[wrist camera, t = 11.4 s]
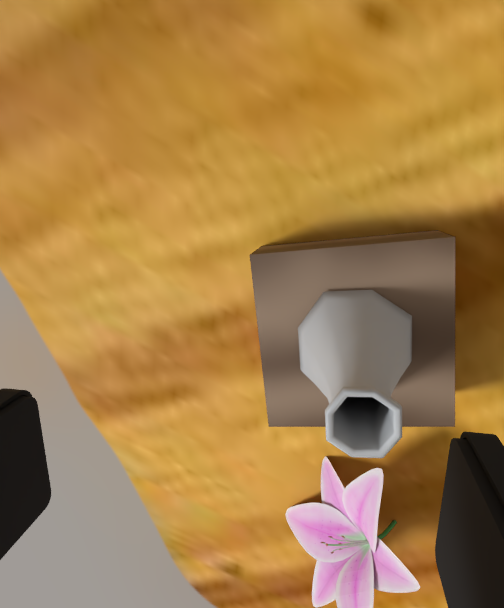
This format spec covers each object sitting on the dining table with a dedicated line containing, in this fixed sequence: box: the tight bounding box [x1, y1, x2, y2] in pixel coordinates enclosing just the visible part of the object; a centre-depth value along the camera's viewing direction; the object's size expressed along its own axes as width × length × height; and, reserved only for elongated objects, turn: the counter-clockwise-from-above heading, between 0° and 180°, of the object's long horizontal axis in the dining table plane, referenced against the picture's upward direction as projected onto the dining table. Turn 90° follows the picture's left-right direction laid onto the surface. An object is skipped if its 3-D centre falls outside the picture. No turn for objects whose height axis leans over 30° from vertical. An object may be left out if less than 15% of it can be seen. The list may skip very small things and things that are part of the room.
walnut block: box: [250, 230, 455, 427], centre depth 29 cm, size 12×12×5 cm
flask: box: [298, 290, 412, 458], centre depth 22 cm, size 7×7×10 cm
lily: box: [286, 456, 420, 608], centre depth 32 cm, size 12×12×10 cm
